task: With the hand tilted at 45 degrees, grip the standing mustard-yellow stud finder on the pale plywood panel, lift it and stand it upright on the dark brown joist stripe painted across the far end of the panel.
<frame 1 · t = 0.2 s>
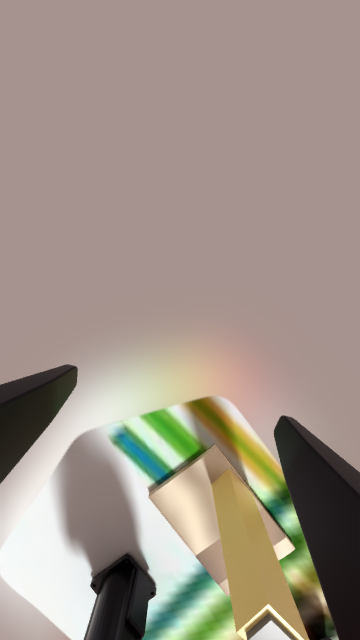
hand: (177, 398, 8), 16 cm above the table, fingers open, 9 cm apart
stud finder: (231, 488, 24), point 1 cm above the table, touching subfloor panel
subfloor panel: (218, 515, 24), on the table
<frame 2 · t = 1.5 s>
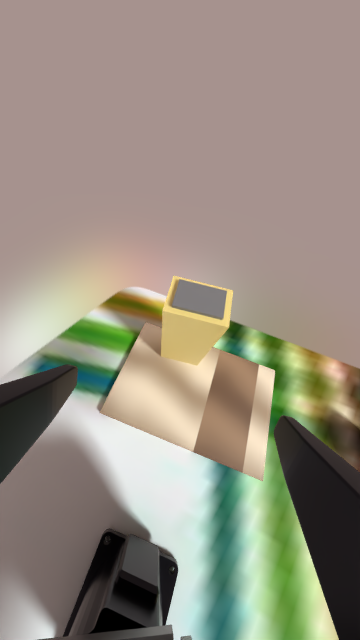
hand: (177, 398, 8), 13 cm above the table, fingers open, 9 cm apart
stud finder: (181, 349, 22), point 1 cm above the table, touching subfloor panel
subfloor panel: (190, 388, 21), on the table
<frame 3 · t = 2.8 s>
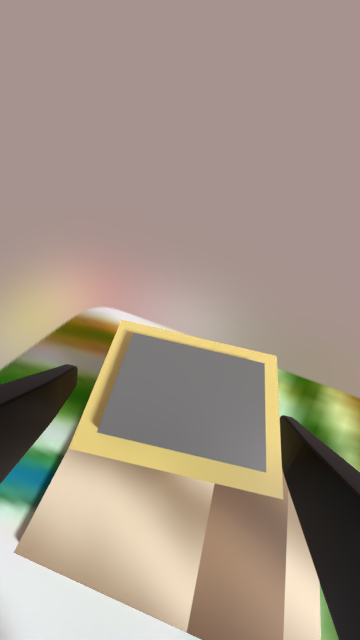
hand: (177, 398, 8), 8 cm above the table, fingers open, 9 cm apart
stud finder: (167, 409, 14), point 1 cm above the table, touching subfloor panel
subfloor panel: (182, 481, 13), on the table
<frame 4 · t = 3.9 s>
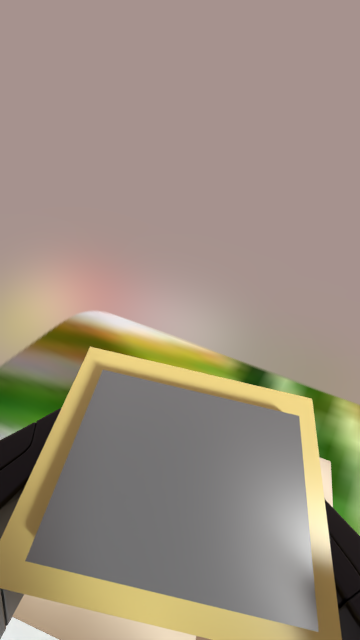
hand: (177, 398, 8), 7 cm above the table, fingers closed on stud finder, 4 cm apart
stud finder: (164, 427, 13), point 1 cm above the table, touching gripper, subfloor panel
subfloor panel: (180, 510, 11), on the table
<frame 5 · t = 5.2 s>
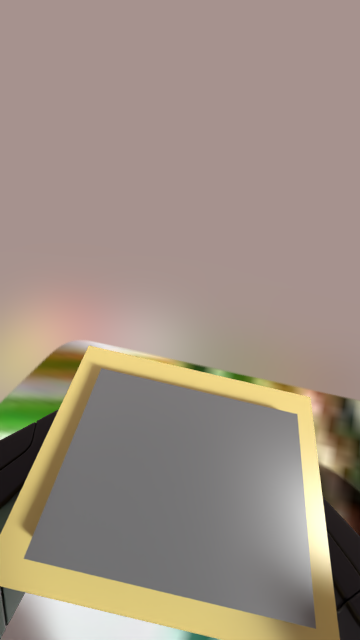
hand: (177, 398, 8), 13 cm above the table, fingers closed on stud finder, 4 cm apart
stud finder: (164, 426, 13), point 7 cm above the table, touching gripper
when the fingers open (7 cm above the table, at t = 6.9 s): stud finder stays where it is, resting on subfloor panel.
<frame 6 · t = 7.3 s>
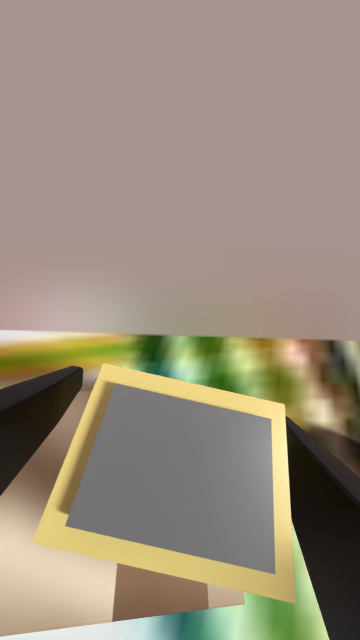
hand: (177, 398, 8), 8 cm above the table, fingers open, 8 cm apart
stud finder: (165, 425, 13), point 1 cm above the table, touching subfloor panel
subfloor panel: (95, 480, 12), on the table
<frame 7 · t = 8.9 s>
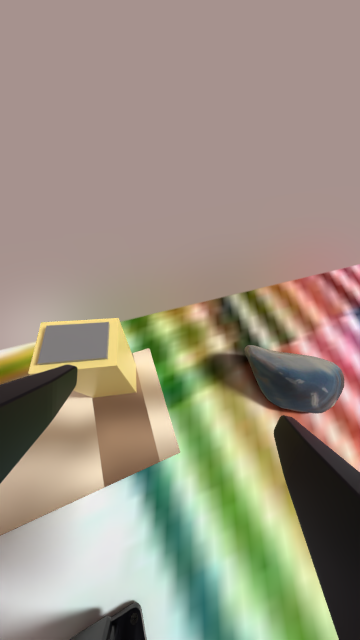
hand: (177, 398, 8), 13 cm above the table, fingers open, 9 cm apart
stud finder: (115, 380, 20), point 1 cm above the table, touching subfloor panel
subfloor panel: (75, 427, 18), on the table
seashell: (281, 377, 23), on the table
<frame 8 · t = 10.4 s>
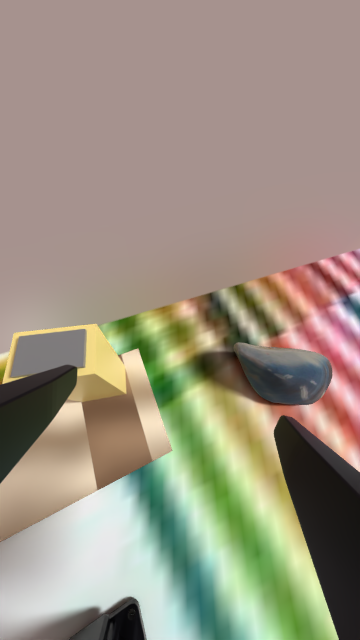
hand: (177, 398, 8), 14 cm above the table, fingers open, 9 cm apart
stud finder: (104, 383, 20), point 1 cm above the table, touching subfloor panel
subfloor panel: (66, 432, 18), on the table
seashell: (272, 371, 23), on the table
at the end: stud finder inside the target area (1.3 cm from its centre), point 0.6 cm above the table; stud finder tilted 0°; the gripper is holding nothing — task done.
